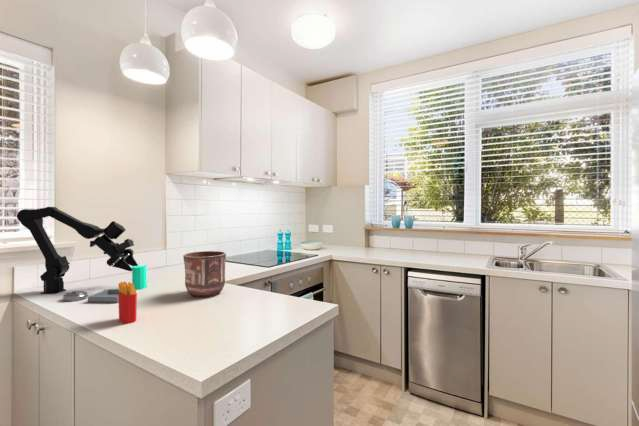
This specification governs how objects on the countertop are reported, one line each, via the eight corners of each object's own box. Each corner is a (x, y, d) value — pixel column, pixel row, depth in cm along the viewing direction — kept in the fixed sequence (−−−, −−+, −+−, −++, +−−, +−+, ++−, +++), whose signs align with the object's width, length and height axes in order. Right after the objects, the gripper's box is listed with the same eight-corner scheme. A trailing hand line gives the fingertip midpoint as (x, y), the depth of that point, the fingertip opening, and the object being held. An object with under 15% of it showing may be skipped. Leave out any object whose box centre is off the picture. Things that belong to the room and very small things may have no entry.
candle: (149, 287, 154) (149, 262, 154) (137, 290, 149) (137, 264, 149) (141, 285, 157) (141, 261, 157) (129, 288, 151) (129, 263, 151)
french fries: (139, 321, 108) (138, 283, 108) (124, 325, 105) (124, 285, 105) (129, 315, 114) (129, 279, 114) (116, 318, 111) (115, 281, 111)
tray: (87, 302, 129) (87, 296, 129) (108, 294, 141) (107, 288, 141) (117, 303, 129) (117, 296, 129) (134, 294, 141) (134, 289, 141)
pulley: (58, 301, 130) (58, 294, 130) (73, 296, 138) (73, 289, 138) (77, 301, 130) (77, 294, 130) (91, 296, 138) (91, 289, 138)
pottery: (199, 287, 154) (198, 250, 153) (232, 289, 150) (232, 251, 150) (175, 298, 137) (174, 256, 136) (212, 300, 133) (212, 257, 132)
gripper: (114, 235, 141) (142, 259, 144) (128, 232, 160) (153, 253, 162) (94, 254, 140) (122, 277, 143) (111, 248, 158) (136, 269, 161)
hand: (134, 268), depth 152 cm, fingers open, 9 cm apart
